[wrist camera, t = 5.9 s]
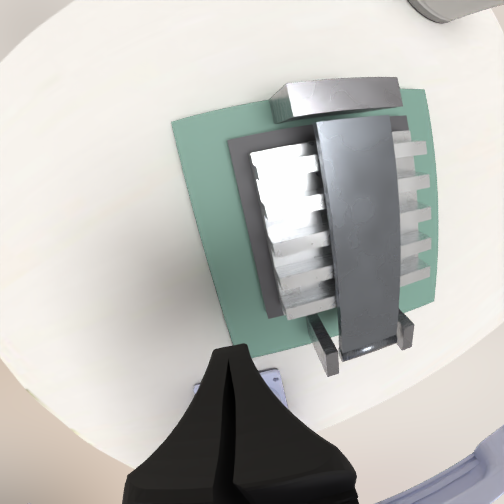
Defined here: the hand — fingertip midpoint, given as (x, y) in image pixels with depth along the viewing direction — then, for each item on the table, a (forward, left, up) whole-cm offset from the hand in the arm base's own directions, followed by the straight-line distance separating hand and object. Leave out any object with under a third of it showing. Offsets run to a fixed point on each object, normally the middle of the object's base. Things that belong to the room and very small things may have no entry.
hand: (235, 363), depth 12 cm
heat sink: (+2, -8, -9) cm, 12 cm away
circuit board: (+1, -8, -10) cm, 13 cm away
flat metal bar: (+1, -8, -5) cm, 9 cm away
